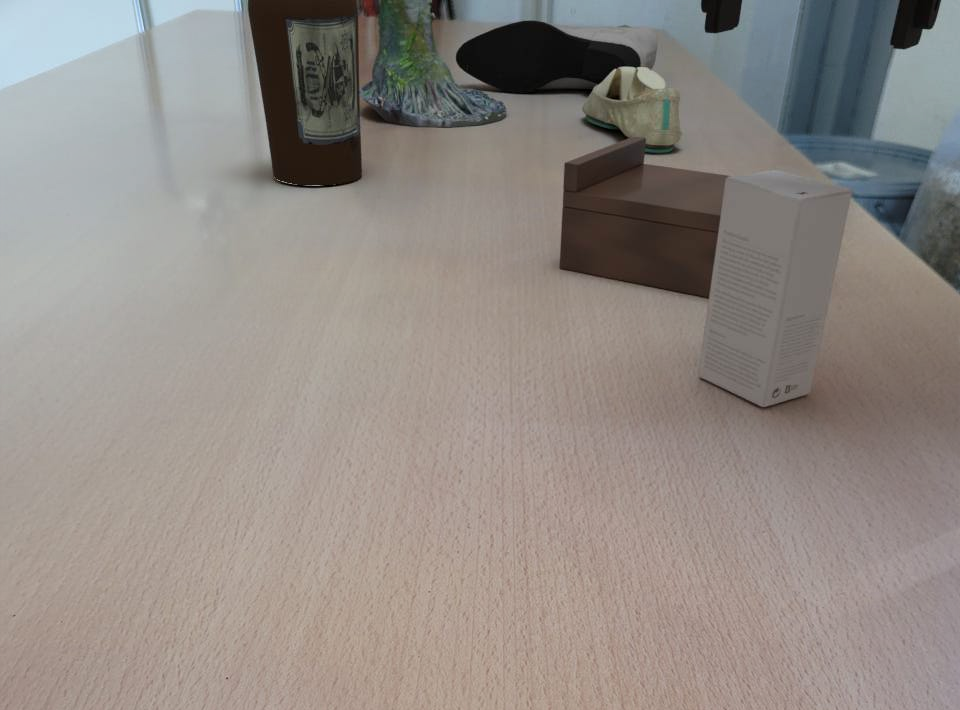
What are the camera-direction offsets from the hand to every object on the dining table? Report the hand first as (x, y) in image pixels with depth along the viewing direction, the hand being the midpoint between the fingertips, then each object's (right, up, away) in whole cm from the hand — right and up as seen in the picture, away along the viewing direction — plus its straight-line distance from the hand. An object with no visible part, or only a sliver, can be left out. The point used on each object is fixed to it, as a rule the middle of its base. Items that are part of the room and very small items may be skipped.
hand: (809, 38), depth 51 cm
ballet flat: (+2, +32, +74) cm, 81 cm away
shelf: (0, 0, +31) cm, 31 cm away
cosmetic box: (0, -15, +12) cm, 19 cm away
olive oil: (-34, +18, +55) cm, 68 cm away
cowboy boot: (-4, +56, +105) cm, 119 cm away
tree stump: (-24, +40, +84) cm, 96 cm away
